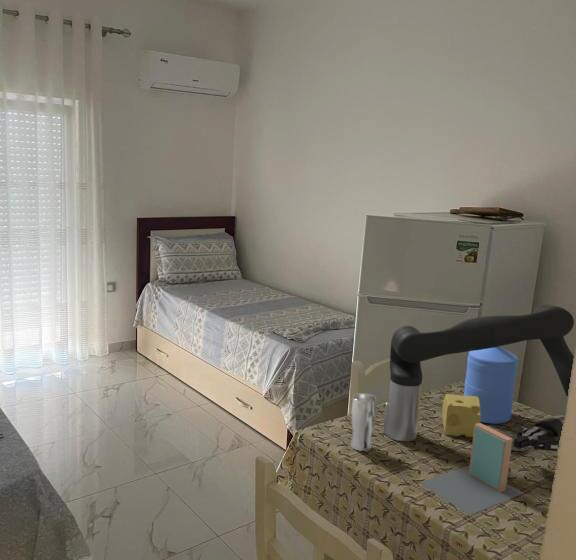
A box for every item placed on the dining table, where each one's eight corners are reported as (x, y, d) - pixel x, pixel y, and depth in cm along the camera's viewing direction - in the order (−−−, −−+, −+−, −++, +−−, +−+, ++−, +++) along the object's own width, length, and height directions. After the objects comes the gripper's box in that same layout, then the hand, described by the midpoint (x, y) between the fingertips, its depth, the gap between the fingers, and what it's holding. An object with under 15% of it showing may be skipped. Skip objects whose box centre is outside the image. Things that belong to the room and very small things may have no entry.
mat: (419, 484, 146) (419, 482, 146) (472, 466, 156) (472, 464, 156) (468, 517, 133) (469, 515, 132) (523, 495, 143) (523, 493, 143)
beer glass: (343, 446, 164) (347, 396, 161) (358, 438, 169) (362, 390, 166) (363, 455, 159) (367, 404, 157) (377, 447, 164) (382, 398, 162)
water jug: (492, 429, 180) (503, 343, 175) (451, 410, 193) (460, 330, 187) (520, 418, 189) (531, 337, 184) (480, 401, 202) (489, 325, 196)
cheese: (479, 440, 172) (483, 409, 170) (442, 435, 174) (445, 404, 172) (475, 425, 182) (479, 396, 180) (440, 421, 184) (443, 391, 182)
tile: (468, 473, 151) (474, 424, 148) (473, 471, 152) (479, 422, 149) (499, 492, 143) (506, 440, 140) (505, 490, 144) (512, 438, 141)
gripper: (536, 409, 165) (496, 421, 156) (580, 427, 154) (540, 441, 145) (533, 433, 167) (493, 446, 157) (576, 453, 156) (536, 468, 146)
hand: (516, 444), depth 151 cm, fingers closed
